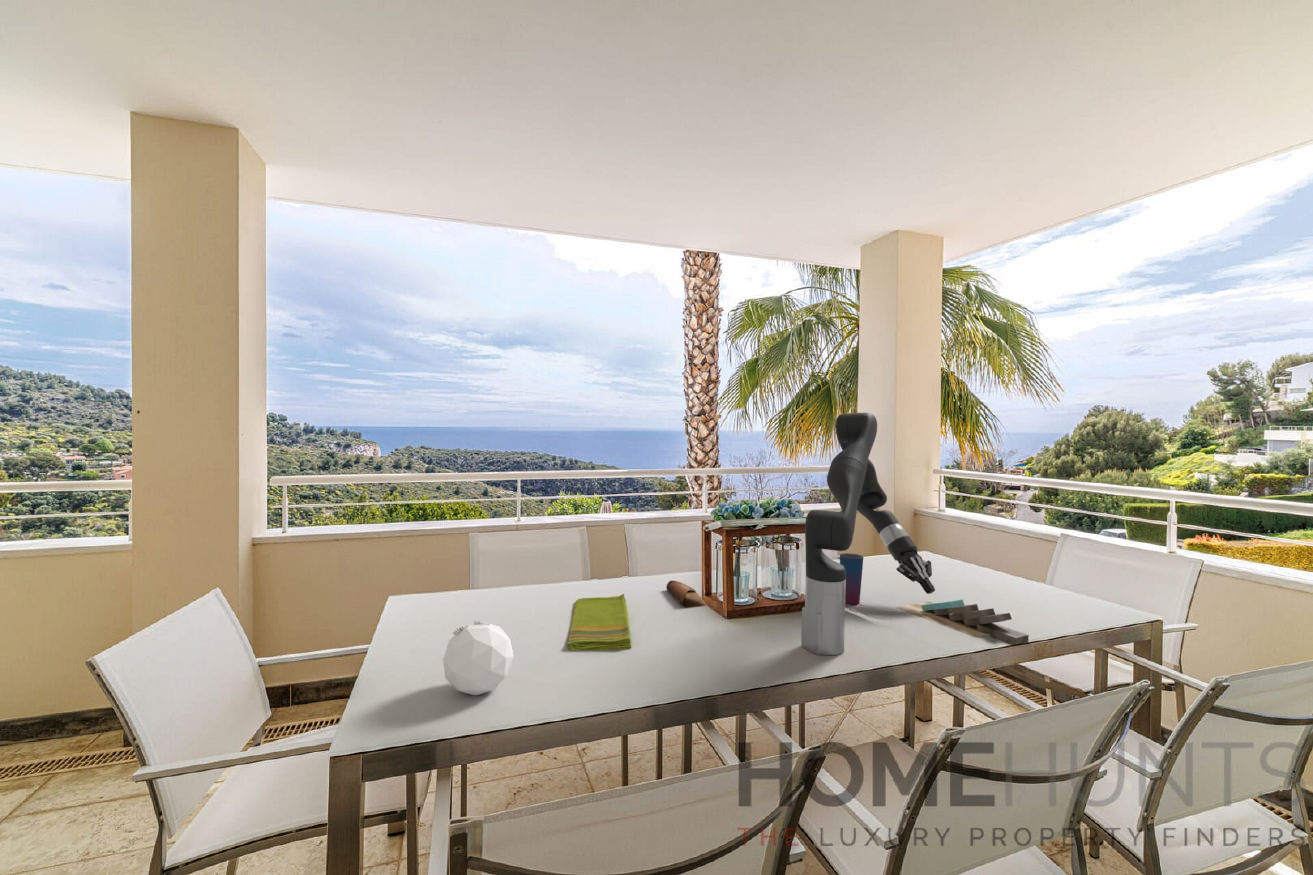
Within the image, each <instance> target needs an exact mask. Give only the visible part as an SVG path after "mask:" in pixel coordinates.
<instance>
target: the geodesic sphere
mask: <svg viewBox="0 0 1313 875" xmlns="http://www.w3.org/2000/svg"><path fill="white" fill-rule="evenodd" d="M452 634H453V636H452V637H451V638H450V639H449V640H448V643H447V646H446V649H445V652H444V655H443V659H442V660H443V667H444V668H443V670H444V677H445V680H446V681H448V683H449V684H451V686H452V687H453V688H454V689H455V690H456V691H458V692H461V693H463V694H468V695H472V696H479V695H482V694H485V693H488V692H491V691H494V690H496V689H497V688H498V687H499V685H500V684H501V683H502V682H503V681H504V680H505V678H507V677H508V674H509V673H510V669H511V666H512V664H513V660H514V658H515V656H514V651H513V646H512V642H511V639H510V637H509V636H508V635H507V633H506V632H505V631H504V630H503V629H502V627H501V626H499V625H495V624H491V623H488V622H485V621H479V620H478V621H477V620H474V622H473V624H469V625H466V626H461V627H458V628H456V630H454V631H453V632H452Z"/></svg>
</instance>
